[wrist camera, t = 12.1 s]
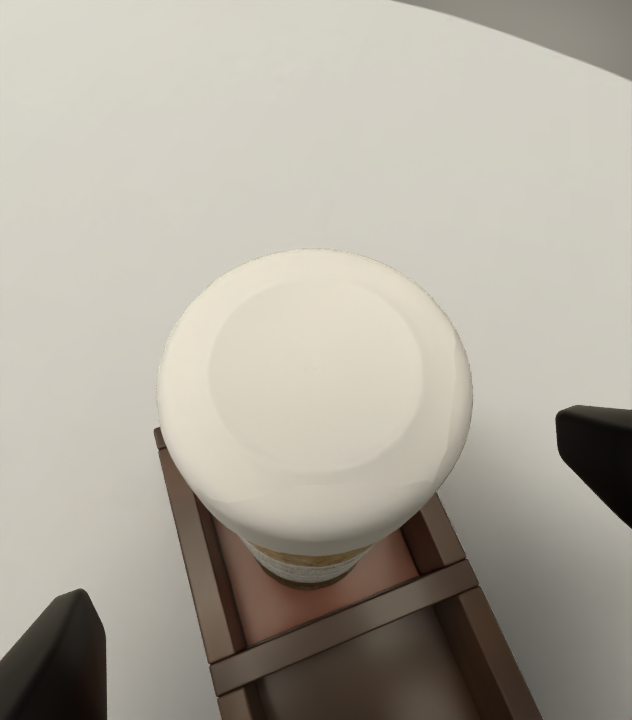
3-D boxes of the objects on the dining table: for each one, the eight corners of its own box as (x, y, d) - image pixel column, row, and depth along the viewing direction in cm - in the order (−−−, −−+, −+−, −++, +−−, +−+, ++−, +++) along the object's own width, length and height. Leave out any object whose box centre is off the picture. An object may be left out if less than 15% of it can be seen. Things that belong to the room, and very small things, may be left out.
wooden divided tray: (551, 835, 16) (628, 898, 12) (305, 969, 14) (308, 1088, 11) (361, 400, 22) (373, 357, 19) (177, 462, 21) (152, 428, 17)
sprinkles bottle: (291, 444, 20) (276, 193, 8) (390, 508, 19) (534, 325, 7) (221, 545, 19) (73, 409, 7) (326, 622, 18) (378, 624, 6)
